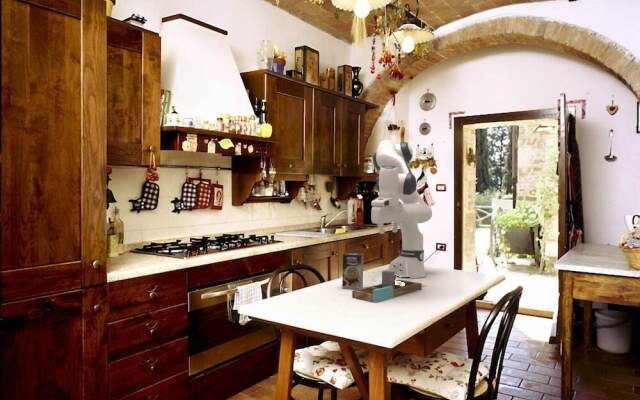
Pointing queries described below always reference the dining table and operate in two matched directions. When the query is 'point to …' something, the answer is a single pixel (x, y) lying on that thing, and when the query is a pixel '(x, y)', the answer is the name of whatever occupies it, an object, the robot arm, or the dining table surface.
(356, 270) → the coffee box
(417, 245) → the robot arm
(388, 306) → the dining table surface
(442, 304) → the dining table surface
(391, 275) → the tall grey block
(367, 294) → the rack
